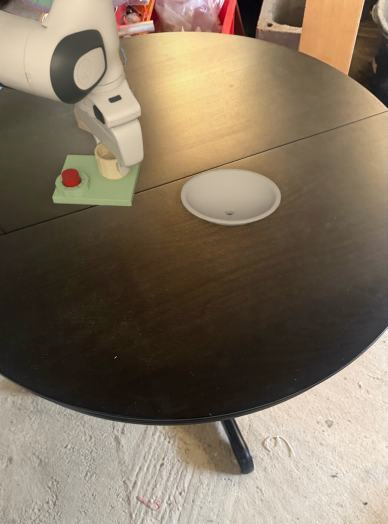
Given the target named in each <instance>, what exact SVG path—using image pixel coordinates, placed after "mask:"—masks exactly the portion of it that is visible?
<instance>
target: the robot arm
mask: <svg viewBox="0 0 388 524" xmlns="http://www.w3.org/2000/svg"><path fill="white" fill-rule="evenodd" d="M119 43H120V35H119V28H118V22H117V17H116V12H115V8H114V6H113V2H112V0H53V3H52V6H51V9H50V11H49V13H48V14H47V15H46V17H45V18H44V19H43V20H42V21H41V20H36V19H34V18H33V19H32V18H29V17H25V16H22V15H17V14H14V13H13V12H10V11H6V10H3V9H0V88H4V89H8V90H9V89H10V90H14V91H20V92H23V93H26V94H30V95H33V96H35V97H40V98H43V99H47V100H50V101H54V102H57V103H60V104H67V105H74V108H76V112H77V114H78V116H79V118H80V119H81V120H82V121H83V123H84V124H85V125H86V126H87V127H88V128H89V129H90V130H91V132H92V133H91V135H92V136H93V138H94V141H95V143H96V147H97V146H98V145H99V144H100V143H103V144H104V145H105V146H106V148H107V149H108V150H109V151H110V152H111V153H112V154H113V155H114V156H115V157H116V159H117V160H118V163H116V167H117V170H118V172H119V173H120V174H121V175H123V174H126V173H128V171H129V169H128V168H129V167H131V166H134V165H136V164H139V163H140V162H141V163H142V162H143V160H144V142H143V141H144V139H143V132H142V127H141V123H140V120H139V119H138V118H140V117H141V116H142V109H141V108H142V107H141V105H140V102H139V101H138V100H137V99H136V97H135V95H134V93H133V94H132V92H131V90H132V89H131V88H130V85H129V83H128V81H127V78H126V79H125V76H124V72H125V68H124V69H123V66H124V64H123V62H122V60H121V57H120V50H119Z"/></svg>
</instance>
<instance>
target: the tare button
mask: <svg viewBox="0 0 388 524" xmlns="http://www.w3.org/2000/svg"><path fill="white" fill-rule="evenodd" d="M61 172H62V171H61ZM60 175H61V176H62V180H63V183H64V185H65V186H66V187H75V186H78V185H79V184H80V182H81V180H80V176H79V173H78V171H77V170H76V169H73V168H70V169H66V170H64V171H63V172H62V174H61V173H60Z"/></svg>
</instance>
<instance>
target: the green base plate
mask: <svg viewBox="0 0 388 524" xmlns="http://www.w3.org/2000/svg"><path fill="white" fill-rule="evenodd" d="M141 165H142V161H141V162H140V163H139V164H136V165H134V166H131V170H130V172H129V173H128V174H127V175H126V176H125V177H123V178H120V179H114V180H113V179H107V178H105V177H103V176H102V175H101V174H100V173H99V171H98V167H97V162H96V158H95V155H89V154H88V155H87V154H67V155H66V158H65V161H64V164H63V166H62V169H61V171H60V174H59V175H58V176H57V177H56V179H55V182H54V184H55V189H54V191H53V194H52V196H51V197H52V198H51V199H52V201H53V204H63V205H65V204H66V205H67V204H69V205H87V206H88V205H93V206H113V207H133V202H134V197H135V192H136V189H137V184H138V180H139V176H140V171H141ZM70 168H73V169H76V170H77V171H78V173H79V176H80V180H81V182H80V184H79V185H78V186H75V187H66V186H65V185H64V183H63V180H62V176H61V174H62V172H63V171H64V170H66V169H70Z"/></svg>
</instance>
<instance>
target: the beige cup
mask: <svg viewBox="0 0 388 524" xmlns="http://www.w3.org/2000/svg"><path fill="white" fill-rule="evenodd" d="M93 153H94V156H95V158H96V162H97V167H98V171H99V173H100V174H101V175H102V176H103V177H105V178H107V179H113V180H114V179H120V178H123V177H125V176H126V175H127V174H128V173H129V172H130V170H131V167H129V168H128V169H129V171H128V173H126V174H123V175H121V174H120V173H119V172H118V170H117V167H116V163H118V160H117V159H116V157H115V156H114V155H113V154H112V153H111V152H110V151H109V150H108V149H107V148H106V146H105V145H104V144H103V143H100V144H99V145H98V146H97V145H96V147H95V148H94V151H93Z"/></svg>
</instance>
